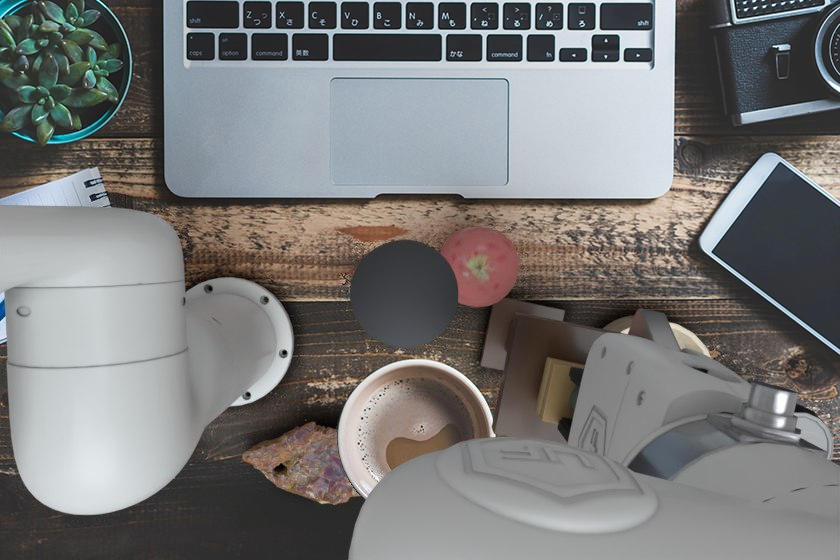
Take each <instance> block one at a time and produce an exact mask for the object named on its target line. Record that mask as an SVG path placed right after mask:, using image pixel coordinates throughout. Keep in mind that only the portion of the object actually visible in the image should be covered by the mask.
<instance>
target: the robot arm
mask: <svg viewBox="0 0 840 560" xmlns="http://www.w3.org/2000/svg"><path fill="white" fill-rule="evenodd" d="M210 287H211V288H212V289H211V290H210ZM2 293H4V295H3V297H4V312H5V313H4V314H5V315H4V317H5V333H6V350H7V351H6V353H7V360H6V377H7V397H8V414H9V415H8V416H9V418H8V419H9V427H10V428H9V429H10V439H11V445H12V451H13V456H14V460H15V464H16V467H17V471H18V473H19V476H20V479H21V481H22V483H23V484H24V486H25V487H26V489H27V490H28V492H30V494H32V496H33V497H34V498H35V499H36V500H37V501H39V502H40V503H41V504H42V505H43V506H46V507H48V508H50V509H52V510H54V511H58V512H61V513H63V514H69V515H74V516H77V515H78V516H81V515H82V516H93V515H94V516H95V515H103V514H110V513H114V512H117V511H121V510H124V509H128V508H130V507H132V506H135V505H137V504H139V503H141V502H143V501H145V500H147V499H148V498H149V499H150V497H152V496H153V495H155V494H157V493H158V492H159V491H160V490H162V489H163V488H165V487H166V486H167V485H168V484H169V483H171V481H173V480H174V479H175V478H176V476H177V475H178V474H180V472H181V471H182V470H183V468H184V467H185V466H186V465H187V463H188V462H189V460H190V458H191V457H192V455H193V454H194V452H195V450H196V448H197V445H199V444H198V443H199V442H200V440H201V437H202V435H203V433H204V431H205V429H206V428H207V426H209V425H210V424H211V423H212V422H213V421H214V420H216V419H217V418H218V417H220V415H222V413H224V412H225V411H226V410H227V409H228V408H230V407H239V406H243V405H247V404H251V403H254V402H256V401H257V400H259V399H261V398H264V397H265V396H266V395H267V394H269V393H270V392H271V391H272V390H274V389H275V388H276V386H278V385H279V384H280V382H281V381H282V379H283V378H284V377H285V375H286V374H287V372H288V369H289V368H290V365H291V363H292V360H293V356H294V351H295V335H294V328H293V324H292V321H291V318H290V315H289V314H288V312H287V310H286V309H285V307H284V305H283V304H282V302H281V301H280V300H279V299H278V298H277V296H275V294H273V293H272V292H271V291H269V290H268V289H267V288H266V287H265V286H262V285H261V284H259V283H257V282H254V281H252V280H249V279H245V278H242V277H232V276H227V277H217V278H213V279H208V280H206V281H203V282H200V283H198V284H196V285H194V286H193V287H191V288H189V289H188V290H187V291H186V277H185V262H184V253H183V248H182V244H181V240H180V238H179V235H178V233H177V232H176V230H175V229H174V227H173V226H172V225H171V224H170V223H169V222H168V221H167V220H165V219H163V218H162V217H160V216H158V215H155V214H154V213H150V212H147V211H142V210H138V209H132V208H123V207H112V206H111V207H110V206H86V205H29V204H28V205H27V204H26V205H24V204H23V205H21V204H0V295H1V294H2ZM265 298H267V301H266V300H265ZM634 315H635V316H634V319H633V322H632V324H631V327H630V329H629V332H628V334H627V335H626V334H619V333H605V334H603V335H601V336H600V337H599V338H598V339H596V341H595V342H594V343H593V345H592V347H591V349H590V351H589V354H588V357H587V360H586V364H585V368H584V369H581V368H576V367H571V368H570V372H569V376H570V377H571V378H570V380H571V381H572V382H574V383H575V384H576V385H577V386H578V387H579V388H580V389H579V394H578V398H577V403H576V407H575V412H574V416H573V419H571V418H565V417H562V420H559V423H558V428H557V429H558V430H559V432H560V433H561V435H562V436H563V437H564V439H565V440H566V441H567V443H568V444H563V443H558V442H553V441H548V440H542V439H534V438H523V437H507V436H491V437H479V438H472V439H467V440H463V441H459V442H457V443H455V444H453V445H450V446H449V447H447V448H445V449H440V450H434V451H431V452H427V453H423V454H420V455H418V456H415V457H413V458H410V459H409V460H406V461H404V462H402V463H401V464H399V465H397V466H395V467H394V468H393V469H391V470H390V471H389V472H388V473H386V474H385V475H384V476H383V477H382V478H381V479H380V480H379V481H378V482H377V483H376V485H375V486H374V487H373V488H372V489H371V491H370V492H369V493H368V495H367V496H366V498H365V500H364V502H363V504H362V506H361V507H360V511H359V513H358V516H357V519H356V521H355V524H354V528H353V532H352V537H351V540H350V545H349V549H348V550H349V551H348V557H347V558H348V559H347V560H840V465H839V464H837V463H835V462H834V461H832V460H828V459H827V456H828V452H827V451H825V450H823V449H821V448H819V447H817V446H816V445H814V444H812V443H810V442H808V441H806V440H804V439H802V438H800V435H801V429H798V428H796V424H797V420H798V417H797V416H795V415H793V414H794V410H795V406H796V403H797V402H798V397H799V392H798V391H796V390H793V389H790V388H787V387H783V386H780V385H776V384H772V383H767V382H762V381H756V380H752V381H751V384H752V385H751V384H749V383H750V382H749V381H747V380H746V379H745V378H743V377H742V376H740V375H739V374H737V373H736V372H735V371H733V370H731V369H730V368H729V367H728V366H725V365H724V364H722V363H721V362H719V361H717V360H716V359H714V358H712V357H711V358H710V357H708V356H706V355H704V354H702V353H700V352H698V351H695V350H692V349H689V348H686V347H685V348H684V349H682V350H681V349H680V346H679V344H678V342H677V340H676V337H675V335H674V333H673V331H672V329H671V326H670V324H669V322H668V321H669V320H668V318H667V315H666V314H665V313H664V312H661V311H660V312H659V311H656V310H650V309H645V308H638V309H637V310H636V312H635V314H634ZM284 351H286V354H285V353H284ZM748 382H749V383H748ZM247 393H249V394H250V395H248V394H247Z"/></svg>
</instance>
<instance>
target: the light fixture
mask: <svg viewBox="0 0 840 560" xmlns="http://www.w3.org/2000/svg"><path fill="white" fill-rule="evenodd" d="M349 288H350V289H349V300H350V306H351V310H352V313H353V315H354V318H355V319H356V321H357V323H358V324H359V326H360V327H361V328H362V330H363V331H364V332H365V333H366V334H367V335H368V336H369V337H371V338H372V339H374V340H375V341H377V342H378V343H381V344H383V345H386V346H389V347H392V348H398V349H410V348H416V347H417V348H418V347H421V346H423V345H426V344H428V343H430V342H432V341H434V340H435V339H436V338H438V337H440V336H441V334H442V333H444V332H445V331H446V329H447V328H448V327H449V326H450V324H451V322H452V321H453V319H454V317H455V315H456V311H457V309H458V304H459V303H458V284H457V279H456V276H455V273H454V271H453V269H452V267H451V266H450V264H449V263H448V261H447V260H446V259H445V258H444V257H443V256H442V255H441V254H440V251H438V250H436V249H435V248H434V247H432V246H431V245H428V244H427V243H424V242H421V241H417V240H411V239H396V240H391V241H387V242H385V243H382V244H380V245H379V246H376V247H375V248H374V249H373V248H372V250H370V251H369V252H368V253H367V254H366V255H365V256H364V257H363V258H362V259H361V261H360V262H359V264H358V265H357V266H356V269H355V270H354V272H353V274H352V278H351V282H350V287H349Z"/></svg>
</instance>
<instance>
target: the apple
mask: <svg viewBox="0 0 840 560" xmlns="http://www.w3.org/2000/svg"><path fill="white" fill-rule="evenodd" d="M439 253H440V254H441V255H442V256H443V257H444V258H445V259H446V260H447V261H448V263H449V264H450V266H451V267H452V269H453V271H454V273H455V276H456V279H457V284H458V304H459V305H460V304H461V305H464V306H467V307H473V308H483V307H489V306H490V307H491V306H492V304H495V303H497V302H499V301H500V300H501V299H503V298H504V297H505V298H506V297H507V296H508V295H509V293H510V292H511V290H512V289H513V288H514V286H515V283H516V281H517V280H518V276H519V271H520V258H519V257H520V256H519V255H518V251H517V249H516V247H515V245H514V243H513V242H512V240H511V239H510V238H509V237H507V236H506V234H504V233H502V232H501V231H498V230H496V229H494V228H489V227H484V226H465V227H463V228H460V229H457V230H454V232H453V233H451V234H450V235H449V236H448V237H447V238H446V239H445V241H444V242H443V244H442V246H441V249H440V251H439Z"/></svg>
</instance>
